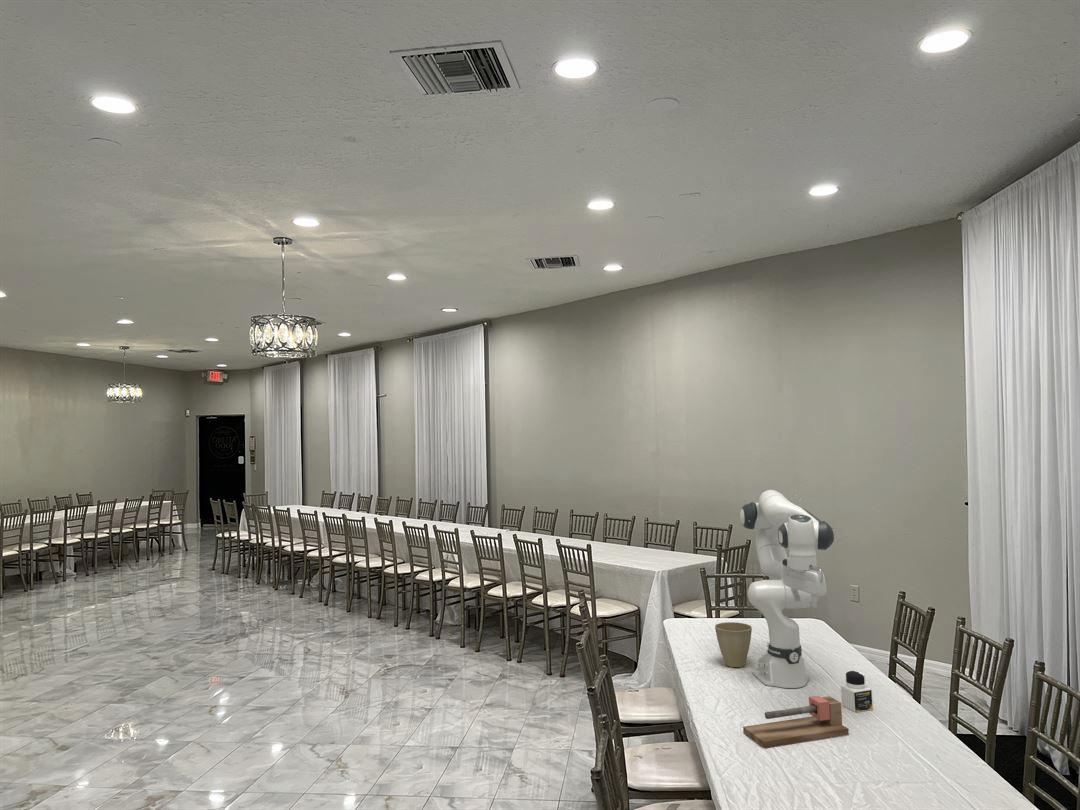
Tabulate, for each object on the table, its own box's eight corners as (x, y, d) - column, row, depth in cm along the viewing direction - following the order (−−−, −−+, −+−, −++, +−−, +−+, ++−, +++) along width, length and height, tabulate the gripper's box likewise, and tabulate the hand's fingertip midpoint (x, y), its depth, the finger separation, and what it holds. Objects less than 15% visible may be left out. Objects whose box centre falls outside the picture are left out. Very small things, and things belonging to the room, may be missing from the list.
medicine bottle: (855, 712, 242) (853, 677, 243) (841, 705, 249) (839, 670, 250) (873, 709, 244) (871, 674, 245) (858, 702, 251) (856, 668, 252)
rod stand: (743, 733, 230) (742, 704, 230) (825, 720, 237) (823, 693, 237) (763, 748, 218) (762, 718, 218) (848, 734, 225) (847, 705, 226)
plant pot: (758, 670, 289) (756, 630, 289) (721, 671, 289) (719, 631, 290) (748, 659, 304) (746, 621, 304) (713, 660, 304) (711, 622, 305)
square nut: (809, 714, 232) (808, 696, 232) (819, 712, 233) (818, 695, 233) (820, 720, 227) (819, 702, 227) (830, 719, 228) (829, 701, 228)
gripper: (830, 567, 235) (832, 609, 235) (794, 558, 255) (796, 597, 255) (813, 569, 234) (815, 611, 233) (778, 559, 254) (780, 598, 253)
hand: (805, 603), depth 244 cm, fingers open, 8 cm apart
